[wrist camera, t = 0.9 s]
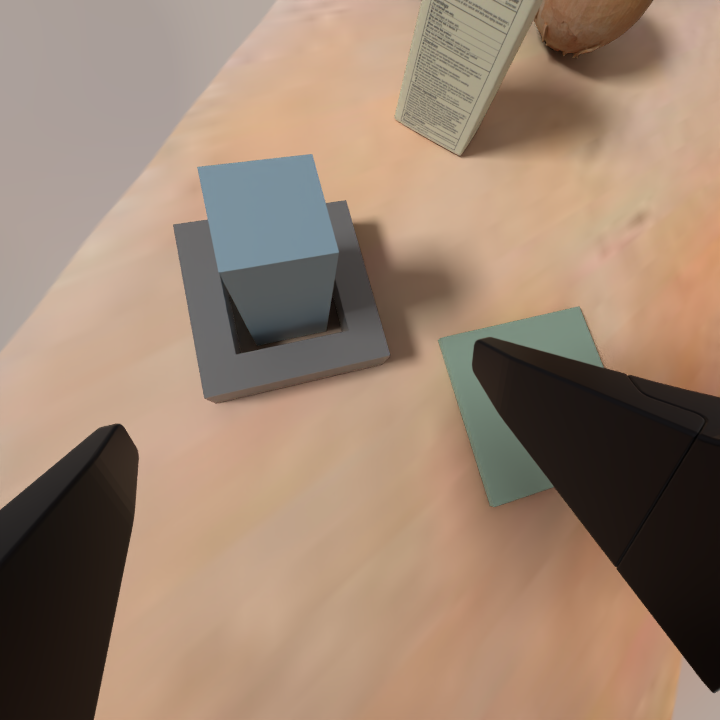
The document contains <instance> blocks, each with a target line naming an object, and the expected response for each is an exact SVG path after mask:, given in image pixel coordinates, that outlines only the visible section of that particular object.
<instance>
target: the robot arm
mask: <svg viewBox="0 0 720 720" xmlns="http://www.w3.org/2000/svg"><path fill="white" fill-rule="evenodd" d="M472 370H473V372H474V374H475V376H476V378H477V379H478V381H479V383H480V384H481V386H482V388H483V389H484V391H485V393H486V394H487V396H488V398H489V399H490V401H491V403H492V404H493V406H494V407H495V409H496V411H497V412H498V414H499V415H500V417H501V418H502V419H503V421H504V422H505V423H506V425H507V426H508V427H509V429H510V430H511V431H512V433H513V434H514V435H515V436H516V438H517V439H518V440H519V442H520V443H521V444H522V446H523V447H524V448H525V450H526V451H527V452H528V453H529V455H530V456H531V457H532V459H533V460H534V461H535V463H536V464H537V465H538V467H539V468H540V469H541V470H542V472H543V473H544V474H545V476H546V477H547V478H548V480H549V481H550V482H551V484H552V485H553V486H554V487H555V489H556V490H557V491H558V493H559V494H560V495H561V497H562V498H563V499H564V501H565V502H566V503H567V504H568V506H569V507H570V508H571V510H572V511H573V512H574V514H575V515H576V516H577V518H578V519H579V520H580V521H581V523H582V524H583V525H584V527H585V528H586V529H587V531H588V532H589V533H590V535H591V536H592V537H593V538H594V540H595V541H596V542H597V544H598V545H599V546H600V548H601V549H602V550H603V552H604V553H605V554H606V555H607V557H608V558H609V559H610V561H611V562H612V563H613V565H614V566H615V567H617V570H618V572H619V573H620V574H621V575H622V577H623V578H624V579H625V581H626V582H627V583H628V585H629V586H630V587H631V589H632V590H633V591H634V592H635V594H636V595H637V596H638V598H639V599H640V600H641V602H642V603H643V604H644V606H645V607H646V608H647V609H648V611H649V612H650V613H651V615H652V616H653V617H654V619H655V620H656V621H657V623H658V624H659V625H660V626H661V628H662V629H663V630H664V632H665V633H666V634H667V636H668V637H669V638H670V640H671V641H672V642H673V643H674V645H675V646H676V647H677V649H678V650H679V651H680V653H681V654H682V655H683V657H684V658H685V659H686V660H687V662H688V663H689V664H690V666H691V667H692V668H693V670H694V671H695V672H696V674H697V675H698V676H699V677H700V679H701V680H702V681H703V682H704V684H705V685H706V686H707V687H708V688H709V689H710V690H711V691H712V692H713V693H716V692H717V691H719V690H720V397H716V396H712V395H707V394H703V393H699V392H694V391H690V390H686V389H682V388H678V387H673V386H669V385H666V384H662V383H658V382H654V381H650V380H646V379H643V378H639V377H636V376H632V375H628V376H627V375H626V374H624V373H621V372H617V371H613V370H610V369H606V368H603V367H599V366H595V365H592V364H588V363H584V362H581V361H577V360H573V359H570V358H566V357H562V356H559V355H555V354H552V353H548V352H544V351H541V350H537V349H533V348H530V347H526V346H522V345H519V344H515V343H511V342H508V341H504V340H501V339H497V338H493V337H486V338H482V339H478V340H476V341H475V343H474V349H473V358H472ZM138 461H139V454H138V450H137V448H136V446H135V444H134V443H133V441H132V439H131V438H130V436H129V434H128V433H127V431H126V429H125V428H124V427H123V426H122V425H121V424H112V425H108V426H104V427H100V428H98V429H97V430H96V431H95V432H93V433H92V434H91V435H90V436H88V437H87V438H86V439H85V440H84V441H82V442H81V443H80V444H79V445H78V446H76V447H75V448H74V449H73V450H72V451H70V452H69V453H68V454H67V455H66V456H64V457H63V458H62V459H61V460H60V461H58V462H57V463H56V464H55V465H54V466H52V467H51V468H50V469H49V470H48V471H46V472H45V473H44V474H43V475H42V476H40V477H39V478H38V479H37V480H36V481H34V482H33V483H32V484H31V485H30V486H28V487H27V488H26V489H25V490H24V491H22V492H21V493H20V494H19V495H18V496H16V497H15V498H14V499H13V500H12V501H10V502H9V503H8V504H7V505H6V506H4V507H3V508H2V509H1V510H0V720H94V716H95V711H96V706H97V701H98V696H99V691H100V686H101V681H102V676H103V671H104V666H105V662H106V657H107V652H108V647H109V642H110V637H111V632H112V627H113V622H114V617H115V612H116V607H117V602H118V597H119V592H120V587H121V582H122V577H123V572H124V567H125V562H126V557H127V552H128V547H129V542H130V537H131V532H132V527H133V521H134V514H135V503H136V489H137V475H138Z"/></svg>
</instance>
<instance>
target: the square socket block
mask: <svg viewBox="0 0 720 720" xmlns="http://www.w3.org/2000/svg"><path fill="white" fill-rule="evenodd" d="M326 207H327V210H328V214H329V218H330V221H331V225H332V229H333V232H334V236H335V240H336V243H337V247H338V250H339V256H338V262H337V268H336V274H335V280H334V287H333V293H332V295H333V299H334V303H335V307H336V311H337V314H338V318H339V322H340V326H341V330H342V332H340V333H335V334H330V335H326V336H321V337H316V338H311V339H307V340H302V341H297V342H293V343H288V344H283V345H278V346H274V347H269V348H264V349H260V350H255V351H250V352H245V353H241V349H240V344H239V340H238V335H237V330H236V325H235V320H234V315H233V310H232V305H231V301H230V296H229V292H228V290H227V288H226V286H225V284H224V282H223V280H222V278H221V276H220V274H219V272H218V267H217V262H216V257H215V252H214V247H213V242H212V237H211V232H210V227H209V222H208V220H202V221H195V222H188V223H181V224H174V225H173V227H174V233H175V238H176V244H177V249H178V255H179V260H180V266H181V271H182V277H183V283H184V288H185V294H186V299H187V305H188V310H189V316H190V322H191V327H192V333H193V338H194V344H195V349H196V355H197V360H198V366H199V372H200V377H201V383H202V388H203V394H204V398H205V399H207V400H209V401H211V402H214V403H220V402H225V401H229V400H233V399H237V398H242V397H246V396H250V395H254V394H259V393H263V392H267V391H271V390H276V389H280V388H284V387H288V386H293V385H297V384H301V383H305V382H310V381H314V380H318V379H322V378H327V377H331V376H335V375H339V374H344V373H348V372H352V371H356V370H361V369H365V368H369V367H373V366H378V365H382V364H383V363H384V362H385V361H386V360H387V358H388V357H389V356H390V352H389V349H388V345H387V342H386V338H385V335H384V331H383V328H382V324H381V321H380V317H379V314H378V310H377V307H376V303H375V300H374V296H373V293H372V289H371V286H370V282H369V279H368V275H367V272H366V268H365V265H364V261H363V258H362V254H361V251H360V247H359V244H358V241H357V237H356V234H355V230H354V227H353V223H352V220H351V216H350V213H349V209H348V206H347V202H346V200H345V201H338V202H331V203H326Z"/></svg>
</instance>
